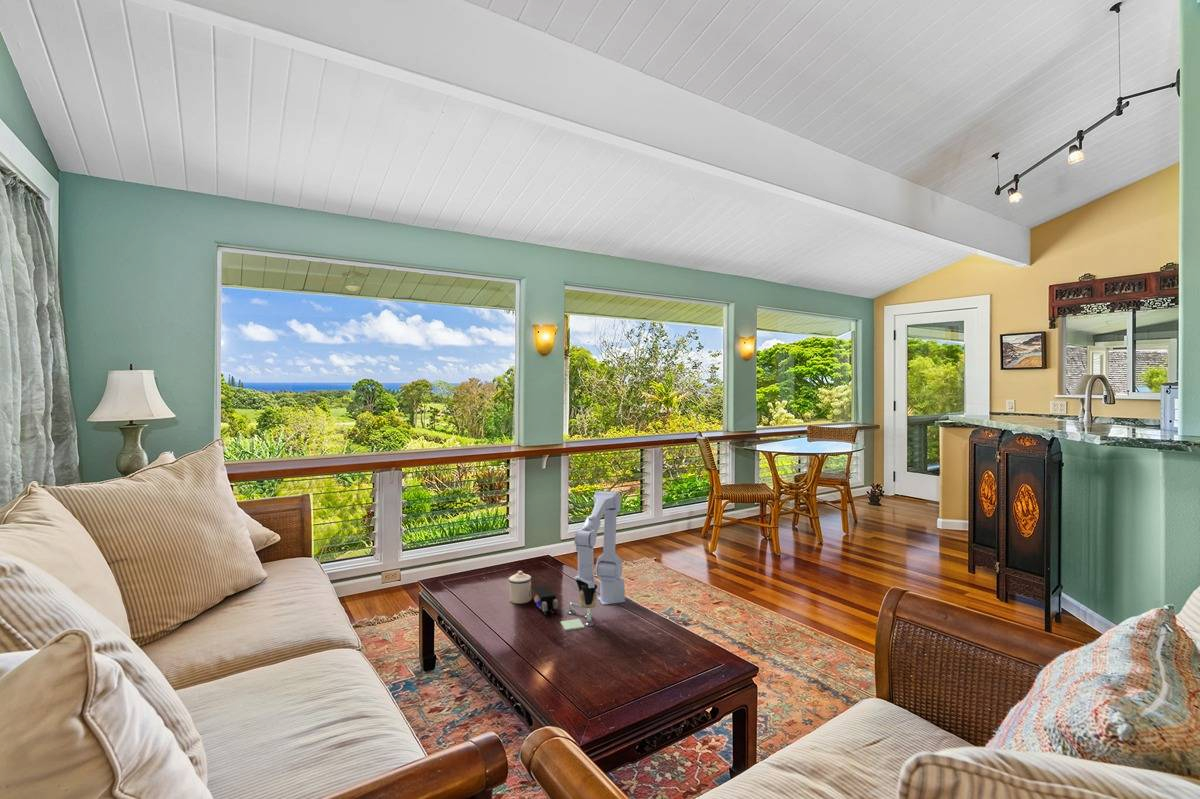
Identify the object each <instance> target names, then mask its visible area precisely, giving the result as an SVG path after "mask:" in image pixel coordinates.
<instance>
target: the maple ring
mask: <svg viewBox="0 0 1200 799" xmlns="http://www.w3.org/2000/svg"><path fill="white" fill-rule="evenodd" d="M579 604H580V606H581V607H582V608H581V609H583V608H590V609H593V608H595V607H596V606H597V590H596V591H595V593H594V596H593V601H592V604H591V605H586V604H585V599H584V593H583V590H581V591H580V592H579Z"/></svg>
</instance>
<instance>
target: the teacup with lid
mask: <svg viewBox="0 0 1200 799" xmlns="http://www.w3.org/2000/svg"><path fill="white" fill-rule="evenodd" d="M508 581H509V602H511V603H512V604H518V605H519V604H527V603H529V602H531V600H532V576H531V575H529V574H526V573H525V572H523V570H518V571H517V572H516V573H515V574H513V575H510V577H509V578H508Z"/></svg>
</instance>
